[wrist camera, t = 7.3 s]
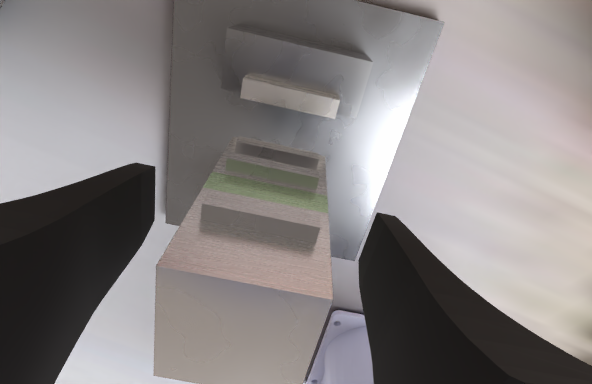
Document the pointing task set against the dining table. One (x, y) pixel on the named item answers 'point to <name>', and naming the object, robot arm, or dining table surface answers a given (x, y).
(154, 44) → the dining table surface
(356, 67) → the stand
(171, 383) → the dining table surface
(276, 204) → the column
